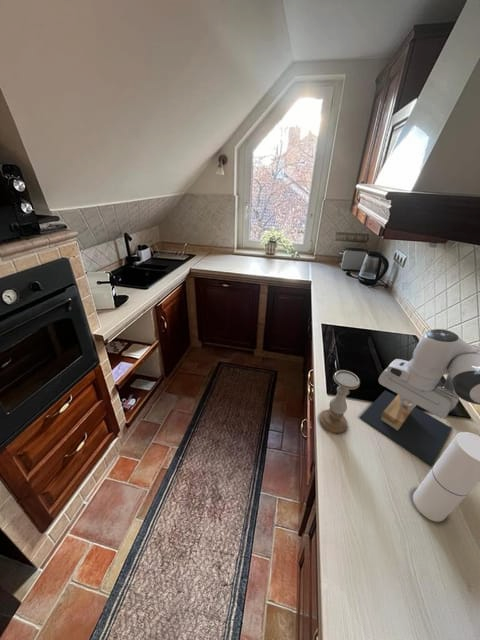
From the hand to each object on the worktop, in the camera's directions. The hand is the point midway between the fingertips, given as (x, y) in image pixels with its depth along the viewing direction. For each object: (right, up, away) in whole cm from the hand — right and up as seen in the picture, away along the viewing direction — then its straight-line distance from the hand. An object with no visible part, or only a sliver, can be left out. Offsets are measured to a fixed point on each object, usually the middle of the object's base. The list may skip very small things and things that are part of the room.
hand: (404, 407), depth 85 cm
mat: (+1, -6, +2) cm, 6 cm away
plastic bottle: (+19, -3, +8) cm, 21 cm away
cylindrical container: (-7, -19, -20) cm, 28 cm away
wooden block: (+1, -4, +1) cm, 4 cm away
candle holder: (-24, -6, +2) cm, 24 cm away
